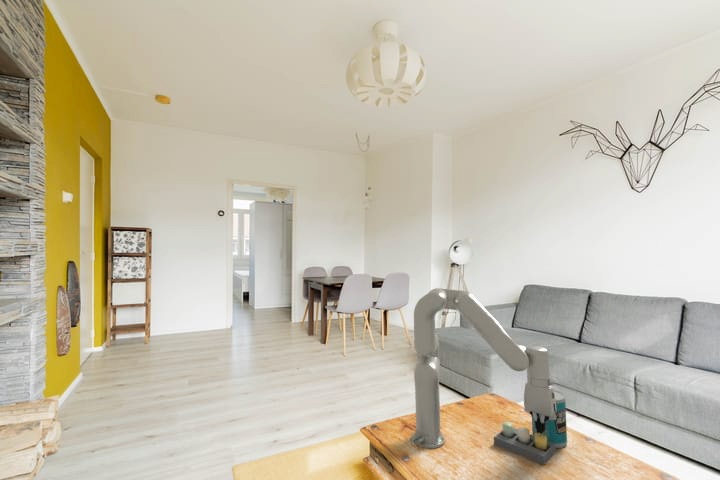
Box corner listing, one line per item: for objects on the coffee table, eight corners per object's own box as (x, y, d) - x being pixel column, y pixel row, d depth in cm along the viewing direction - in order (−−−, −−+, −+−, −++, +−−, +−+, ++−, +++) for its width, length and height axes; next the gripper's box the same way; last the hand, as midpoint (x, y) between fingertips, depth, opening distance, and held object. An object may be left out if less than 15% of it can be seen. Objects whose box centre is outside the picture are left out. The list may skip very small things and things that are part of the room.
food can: (531, 430, 143) (529, 386, 144) (564, 435, 138) (562, 390, 139) (533, 444, 132) (531, 397, 133) (569, 451, 127) (567, 402, 128)
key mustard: (544, 451, 123) (544, 439, 123) (533, 446, 126) (532, 435, 126) (548, 446, 126) (548, 435, 126) (537, 442, 129) (536, 431, 129)
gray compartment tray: (544, 465, 119) (543, 456, 120) (494, 445, 132) (493, 437, 133) (555, 451, 128) (555, 443, 128) (507, 433, 141) (507, 426, 141)
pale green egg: (511, 438, 132) (510, 428, 132) (501, 434, 135) (500, 424, 135) (515, 434, 134) (515, 424, 135) (505, 431, 137) (505, 420, 138)
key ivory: (527, 444, 127) (527, 433, 127) (516, 440, 130) (516, 429, 130) (531, 440, 130) (531, 429, 130) (520, 436, 133) (520, 426, 133)
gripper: (564, 383, 124) (566, 435, 123) (521, 373, 135) (523, 421, 134) (557, 389, 119) (559, 443, 118) (513, 378, 130) (515, 428, 129)
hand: (540, 431), depth 126 cm, fingers closed
